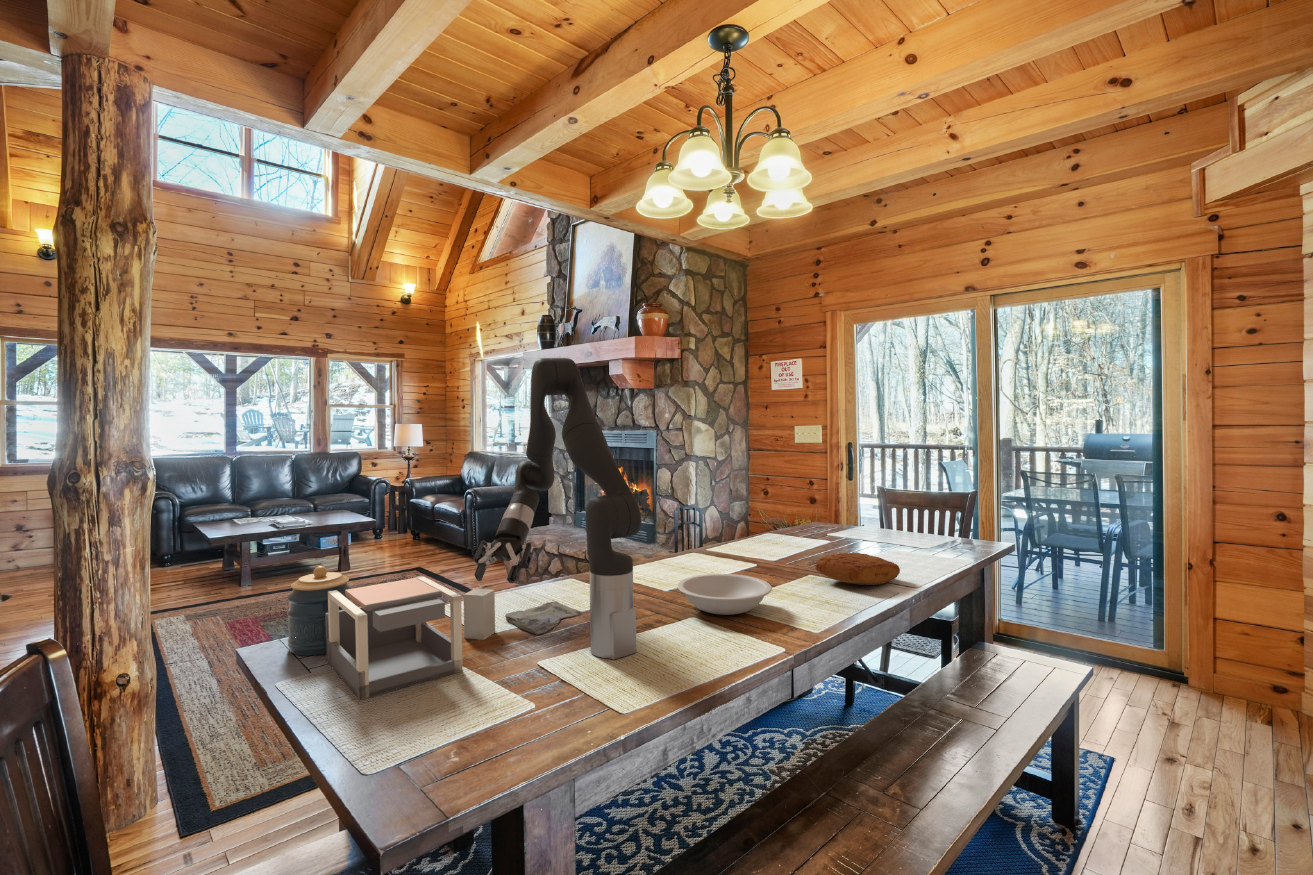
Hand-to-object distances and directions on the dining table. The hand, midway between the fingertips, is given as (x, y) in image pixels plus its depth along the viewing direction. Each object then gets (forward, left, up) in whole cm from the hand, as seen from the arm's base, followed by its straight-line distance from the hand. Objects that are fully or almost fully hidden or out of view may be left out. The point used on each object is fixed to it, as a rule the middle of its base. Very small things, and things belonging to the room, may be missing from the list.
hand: (493, 580), depth 150 cm
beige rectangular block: (-4, +5, -11) cm, 13 cm away
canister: (+13, +34, -11) cm, 39 cm away
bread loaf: (-37, -99, -11) cm, 106 cm away
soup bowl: (-29, -50, -11) cm, 58 cm away
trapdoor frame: (-9, +26, -11) cm, 30 cm away
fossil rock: (-4, -12, -12) cm, 17 cm away
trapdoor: (-12, +26, +1) cm, 29 cm away
